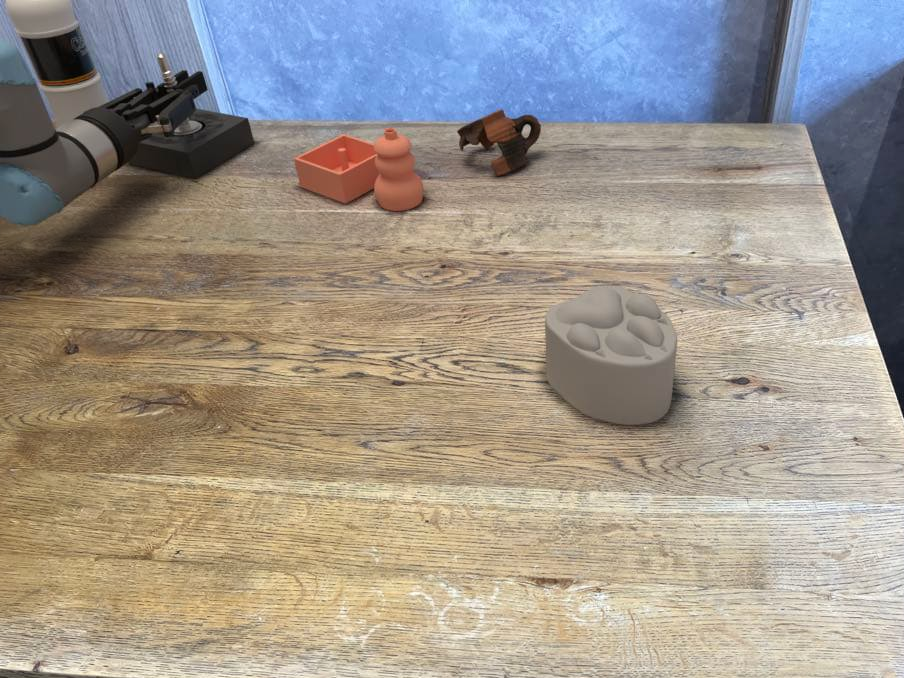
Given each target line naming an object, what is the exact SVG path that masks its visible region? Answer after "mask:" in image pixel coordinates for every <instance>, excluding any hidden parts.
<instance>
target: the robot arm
mask: <svg viewBox="0 0 904 678" xmlns="http://www.w3.org/2000/svg"><path fill="white" fill-rule="evenodd" d="M173 76H174V77H175V78H176V79H175V81H177V84H176V86H174V87H173V90H174V91H173V92H171V93H169V94H168V93H167V91H165V90H166V87H164V86H165V84H164V83H163V82H161V83H160V84H158V85H156V86H155V84H154V82H153V81H148V82H145V87H146V88H145V90H144V91H143V89H142V88H141V87H136V88H134V89H132V90H130V91H128V92H126V93H123V94H122V95H120V96H118V97H115V98H114V99H112V100H109V102H107V103H105V104H103V105H101V106H99V107H95V108H91V109H89V110H87V111H85V112H83V114H81V115H79V116H78V117H76V118H74V119H73V120H70V121H68V122H67V123H65V124H64V125H62V126H60V127H59V128H57V127H56V128H55V126H54V123H53V120H52V119H51V116H50V113H49V112H48V111H49V110H48V109H47V106H46V104H45V102H44V99H43V97H42V95H41V92H40V88H39V86H38V84H37V80H36V78H35V77H34V76H33V74H32V72H31V69H30V68H29V66H28V64H27V62H26V60H25V58H24V56H23V55H22V53H21V51H20V49H19V47H18V46H17V45H16V44H14V43H13V42H11V41H9V40H6V39H3V38H0V216H1V217H2V218H4V219H5V220H7V221H8V222H11V223H13V224H16V225H19V226H24V227H31V226H37V225H39V224H41V223H42V222H44V221H46V220H47V219H49V218H51V217H53V216H55V215H56V214H60V213H61V212H62V211H63V210H64V209H65V208H66V207H67V206H68V205H70V204H72V202H73V201H75V200H76V199H77V198H79V197H81V196H82V195H83V194H85V193H86V192H87V191H89V190H90V189H94V188H96V187H97V186H96V185H98V184H99V183H100V182H102V181H103V180H105V179H106V178H108V177H109V176H110V175H112V174H113V173H114V172H116V171H118V170H120V169H121V168H122V167H124V166H126V165H127V164H129V161H131V160H132V159H133V158H134V157H135V155H136V152H137V148H138V145H139V142H141V141H143V140H146V139H148V138H150V137H151V136H152V133H158V132H161V134H164V137H172V136H173V135H174V131H175V129H176V128H178V127H179V126H180V125H181V124H182V123H183V122H184V121H185V120H186V119H187V118H188V117H189V116H190V115H191V114H193V113H194V112H195V111H196V109H197V107H196V103H195V99H197V98H198V97H200V96H201V95H203V94H204V93H206V92H207V91H208V90H209V88H208V85H207V81H206V79H205V76H204V72H203V71H200V70H198V71H196V72H194V73H193V74H191V75H190V76H189V73H188V70H186V69H182V70H180V71H179V72H177V73H176V74H174V75H173Z"/></svg>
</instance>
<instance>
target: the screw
mask: <svg viewBox="0 0 904 678" xmlns="http://www.w3.org/2000/svg"><path fill="white" fill-rule="evenodd" d="M156 60H157V63H158V67H159V69H160V73H159V74H160V75H161V79H162V83H164V84H165V86H164V87H166V90H165V91H167V93H168V94H169V93H171V92H173V91H174V90H173V87H174V86H176V84H177V81H175V79H176V78H175V77H174V75H175V73H174V72H173V68H171V66H170V63H169V60H168V58H167V55H166V54H165V53H162V52H159V53H158V54H157V55H156ZM188 120H189V118H187V119H186V120H185V121H184V122H183V123H182V124H181V125H180V126H179V127H178V128H176V129H175V131H174V135H173V137H182V136H188V135H192V134H195V133H198V132H199V131H201V130H202V129H203V127H202V125H201V124H200V123H198V122H197V121H188Z"/></svg>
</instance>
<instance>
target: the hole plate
mask: <svg viewBox="0 0 904 678" xmlns="http://www.w3.org/2000/svg"><path fill="white" fill-rule="evenodd" d="M188 118H189V120H188V121H197V122H198V123H200V124H201V125H202V127H203V129H202V130H201V131H199V132H198V133H195V134H192V135H188V136H182V137H173V136H172V137H164V134H161V132H158V133H152V136H151V137H150V138H148V139H146V140H143V141H141V142H139V145H138V148H137V152H136V155H135V157H134V158H133V159H132V160H131V161H129V162H128V164H129V165H130V166H135V167H141V168H144V169H149V170H154V171H158V172H162V173H167V174H172V175H177V176H180V177H185V178H190V179H195V180H196V179H198V178H200V177H201V176H203V175H205V174H206V173H209V172H210V171H212V170H213V169H214V168H216V167H219V166H220V165H221V164H223V163H224V162H227V161H228V160H230V159H231V158H232V157H234V156H236V155H237V154H239V153H240V152H242V151H244V150H246V149H247V148H249V147H251V146H253V145H254V144H255V139H254V136H253V132H252V128H251V125H250V121H249V118H248V117H246V116H245V117H244V116H239V115H235V114H228V113H222V112H217V111H211V110H207V109H200V108H196V111H195V112H194V113H193V114H191V115H190V116H189V117H188Z"/></svg>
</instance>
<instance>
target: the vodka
mask: <svg viewBox="0 0 904 678" xmlns="http://www.w3.org/2000/svg"><path fill="white" fill-rule="evenodd" d="M72 2H73V1H72V0H5V11H6V13H7V15H8V17H9V19H10V21H11V23H12V25H13V26H14V32H15V34H17V35H18V37H19V39H20V42H21V44H22V46H23V49H24V50H25V53H26V55H27V57H28V60H29V62H30V64H31V66H32V69H33V71H34V73H35V76H36V78H37V80H38V83H39V84H38V88H39V90H41V91H42V93H43V96H44V97H45V99H46V101H47V104H48V106H49V109H50V111H51V114H52V116H53V119H54V123H55V126H56V129H57V128H59V127H60V126H62V125H64V124H65V123H67V122H68V121H70V120H73V119H74V118H76V117H78V116H79V115H81V114H83V112H85V111H87V110H89V109H91V108H95V107H99V106H101V105H103V104H105V103H107V102H109V101H110V100H109V98H108V96H107V93H106V91H105V88H104V85H103V83H102V79H101V78H102V77H101V76H102V75H101V74H100V73H99V72H98V70H97V68H96V64H95V62H94V60H93V57H92V55H91V52H90V49H89V47H88V44H87V42H86V39H85V36H84V34H83V31H82V28H81V26H80V23H79V20H78V18H77V16H76V13H75V11H74V7H73V3H72Z"/></svg>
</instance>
